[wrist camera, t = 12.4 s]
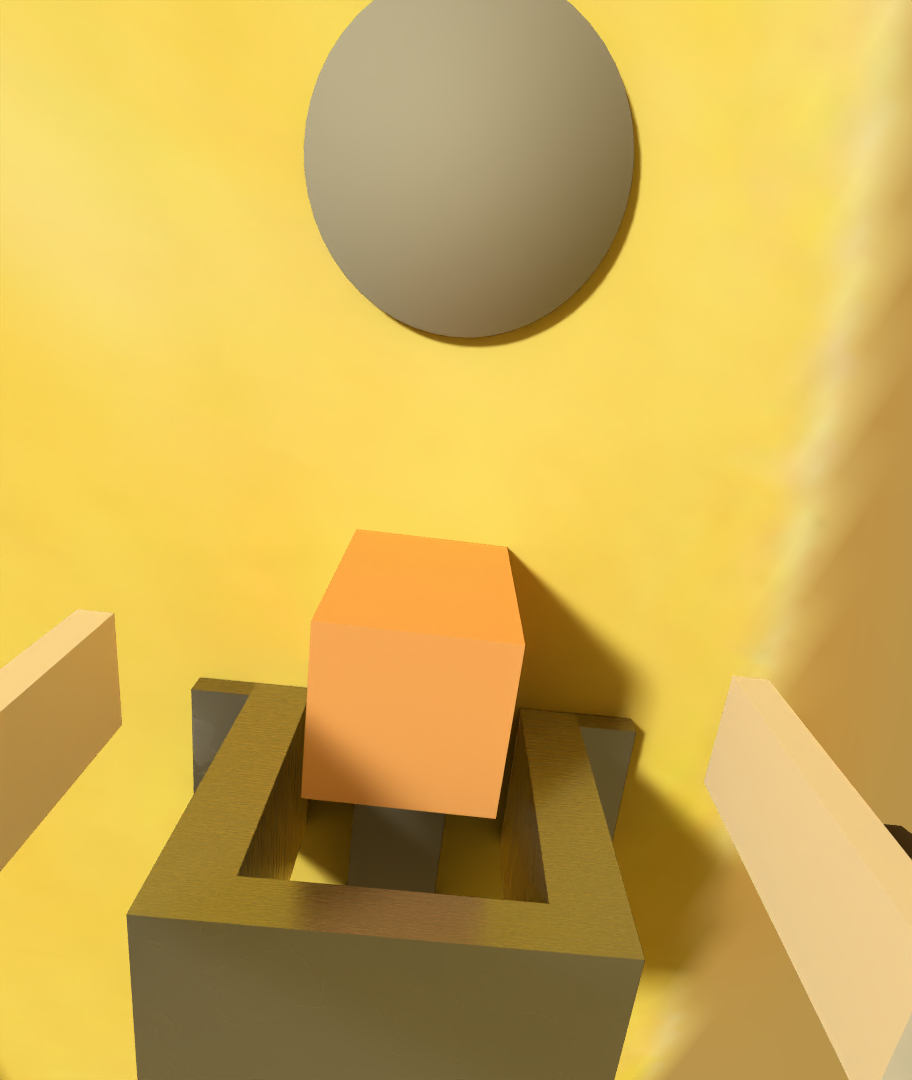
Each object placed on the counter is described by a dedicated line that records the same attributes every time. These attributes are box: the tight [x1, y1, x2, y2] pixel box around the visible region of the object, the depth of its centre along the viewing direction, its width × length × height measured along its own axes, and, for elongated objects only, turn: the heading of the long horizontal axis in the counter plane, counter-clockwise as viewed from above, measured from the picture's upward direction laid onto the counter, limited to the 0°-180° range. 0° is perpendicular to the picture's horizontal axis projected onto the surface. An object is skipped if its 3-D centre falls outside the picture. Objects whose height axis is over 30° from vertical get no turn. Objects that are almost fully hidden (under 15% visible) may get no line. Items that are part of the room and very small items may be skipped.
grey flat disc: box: [304, 0, 634, 338], centre depth 19 cm, size 9×9×1 cm
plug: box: [301, 529, 525, 894], centre depth 22 cm, size 5×18×7 cm, turn 173°
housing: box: [127, 678, 645, 1080], centre depth 21 cm, size 16×6×10 cm, turn 84°
